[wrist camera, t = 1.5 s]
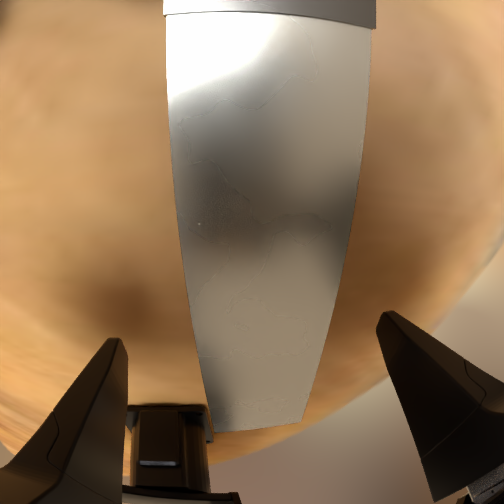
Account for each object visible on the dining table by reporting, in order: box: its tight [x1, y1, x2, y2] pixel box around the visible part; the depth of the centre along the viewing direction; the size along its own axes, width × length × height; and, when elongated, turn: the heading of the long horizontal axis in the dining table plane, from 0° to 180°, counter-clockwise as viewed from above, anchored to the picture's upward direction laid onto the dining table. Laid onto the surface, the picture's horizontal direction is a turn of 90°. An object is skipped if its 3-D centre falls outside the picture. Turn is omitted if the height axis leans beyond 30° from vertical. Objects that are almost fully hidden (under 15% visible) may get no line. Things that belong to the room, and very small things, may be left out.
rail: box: [163, 0, 376, 433], centre depth 10 cm, size 16×4×5 cm, turn 179°
